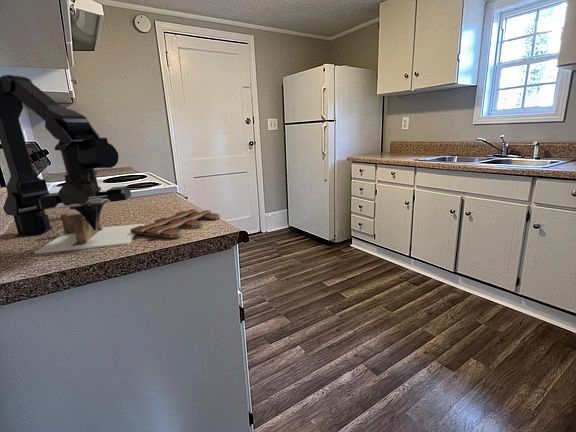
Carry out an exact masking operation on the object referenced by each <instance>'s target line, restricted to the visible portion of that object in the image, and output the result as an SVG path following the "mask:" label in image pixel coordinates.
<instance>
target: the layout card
mask: <svg viewBox="0 0 576 432" xmlns="http://www.w3.org/2000/svg"><path fill="white" fill-rule="evenodd" d="M138 226H145V223H138V224H137V223H135V224H128V225H115V226H113V225H112V226H104V227H102V226H101V230H99V231H97V232H96V233H95V234H94V235H93V236H92V237H91V238H90V239H89V240H88V241H87V242H86V243H84V244H78V243H77V239H76V234H75V233H65V232H63V233H62V234H61V235H60V236H58V237H56V238H55V239H53V240H52V241H50V242H48V243H47V244H45V245H43V246H42V247H40V248H38V249H37V250H36V251H35V252H34V254H35V255H36V254H37V253H38V254H46V253H56V252H65V251H67V252H68V251H74V250H75V251H76V250H84V249H95V248H97V249H98V248H105V247H106V248H107V247H115V246H125V245H129V244H130V243H131V241H132V240H133V239H134V238H135V237H136V236H137V234H133V233H131V230H130V229H132V228H135V227H138Z"/></svg>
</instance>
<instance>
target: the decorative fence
mask: <svg viewBox="0 0 576 432" xmlns="http://www.w3.org/2000/svg"><path fill="white" fill-rule="evenodd" d="M216 218H217V219H218V218H219V219H220V218H221V215H220V214H219V213H214V212H212V210H208V209H205V210H202V211H200V212H199V211H198V209H194V208H193V209H189V210H181V211H178V212H176V213H175V214H174V215H173V216H172V215H171V216H169V217H160V218H159V219H156V220H154V222H152V223H149V224H147V225H144V226H138V227H135V228H132V229H130V230H131V233H133V234H136V235H144V236H151V237H160V238H161V237H162V238H170V239H172V238H180V237H182V236H183V231H182V230H180V229H176V228H180V227H181V228H189V229H197V228H202V227H203V226H204V224H203V221H200V220H205V219H216ZM219 219H218V220H219Z"/></svg>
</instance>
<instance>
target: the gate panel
mask: <svg viewBox="0 0 576 432" xmlns="http://www.w3.org/2000/svg"><path fill="white" fill-rule="evenodd" d="M73 226H74V230H75V234H76V239H77V243H78V244H84V243H86V242H87V241H88V240H89V239H90V238H91V237H92V236H93V235H94V234H95V233H96V232H97V231H98V230H93V228H92V227H91V225H90V224H89V223H88V221H87V220H86V219H85V218H84V217H83V218H81V219H80V220H76V221H73Z"/></svg>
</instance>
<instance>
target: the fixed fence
mask: <svg viewBox="0 0 576 432" xmlns="http://www.w3.org/2000/svg"><path fill="white" fill-rule="evenodd" d="M83 217H84V216H83V215H82V214H81V213H80V212H79V213H71V214H70V213H62V214H60V218H61V222H62V227H63V233H75V230H74V226H73V221H76V220H80V219H81V218H83ZM101 228H102V226H101V221H100V219H99V222H98V227H97V230H98V231H99V230H101Z"/></svg>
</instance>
